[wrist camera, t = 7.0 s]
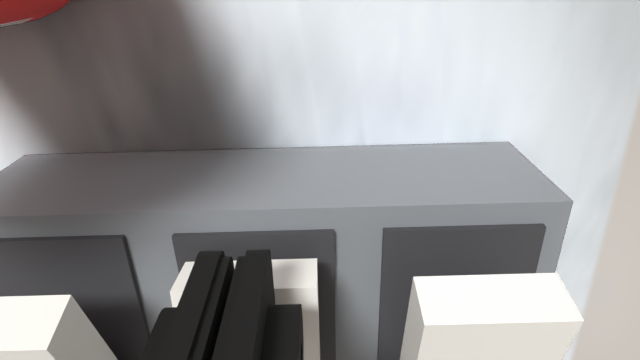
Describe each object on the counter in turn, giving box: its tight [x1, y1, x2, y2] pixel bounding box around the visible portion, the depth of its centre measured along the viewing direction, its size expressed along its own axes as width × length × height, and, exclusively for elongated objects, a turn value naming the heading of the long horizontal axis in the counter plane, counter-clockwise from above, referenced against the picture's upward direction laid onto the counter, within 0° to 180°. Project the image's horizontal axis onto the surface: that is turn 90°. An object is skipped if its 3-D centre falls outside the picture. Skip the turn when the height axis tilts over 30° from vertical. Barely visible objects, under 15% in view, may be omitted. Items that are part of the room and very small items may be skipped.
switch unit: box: [0, 142, 573, 360], centre depth 17 cm, size 9×18×5 cm, turn 91°
